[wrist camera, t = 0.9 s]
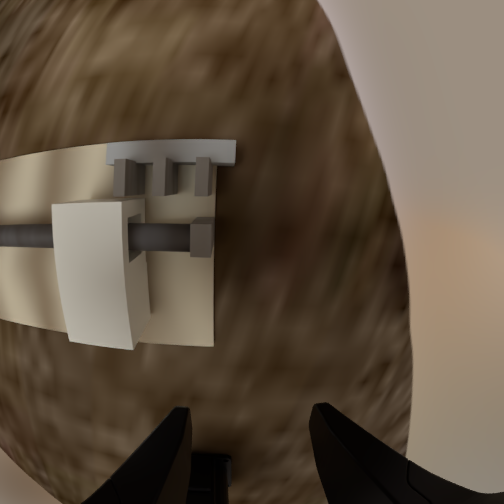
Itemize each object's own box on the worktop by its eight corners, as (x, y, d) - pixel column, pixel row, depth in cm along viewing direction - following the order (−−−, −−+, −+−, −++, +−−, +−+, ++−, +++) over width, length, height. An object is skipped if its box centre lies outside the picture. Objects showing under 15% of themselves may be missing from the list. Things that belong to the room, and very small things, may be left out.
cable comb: (235, 142, 16) (237, 125, 12) (228, 343, 19) (229, 383, 14) (-38, 171, 14) (-71, 174, 9) (-24, 309, 16) (-51, 327, 12)
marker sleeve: (145, 197, 15) (121, 201, 11) (150, 317, 17) (133, 350, 13) (86, 199, 15) (51, 204, 11) (95, 312, 17) (69, 341, 13)
